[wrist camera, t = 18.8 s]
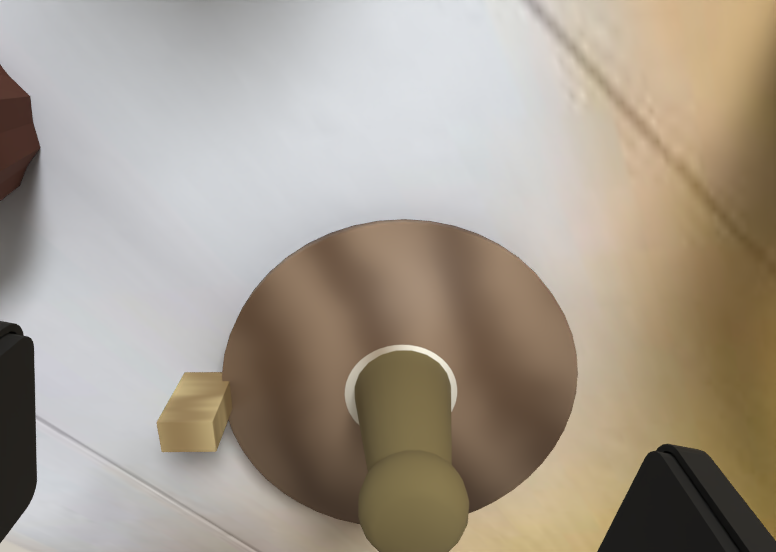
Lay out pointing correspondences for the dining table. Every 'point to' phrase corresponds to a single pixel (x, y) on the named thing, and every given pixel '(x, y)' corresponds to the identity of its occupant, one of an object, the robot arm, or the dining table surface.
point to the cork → (408, 456)
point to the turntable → (376, 337)
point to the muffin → (15, 134)
